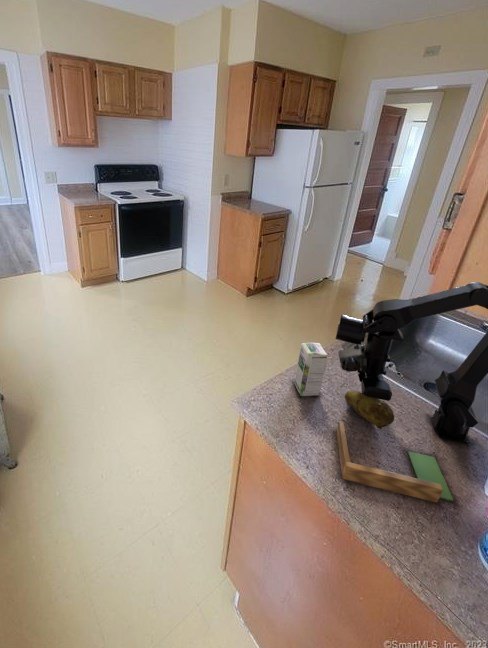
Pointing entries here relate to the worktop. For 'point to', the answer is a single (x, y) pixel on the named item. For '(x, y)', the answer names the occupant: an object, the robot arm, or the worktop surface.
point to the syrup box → (310, 369)
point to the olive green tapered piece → (370, 408)
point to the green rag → (429, 472)
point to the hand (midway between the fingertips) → (363, 394)
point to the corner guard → (384, 475)
